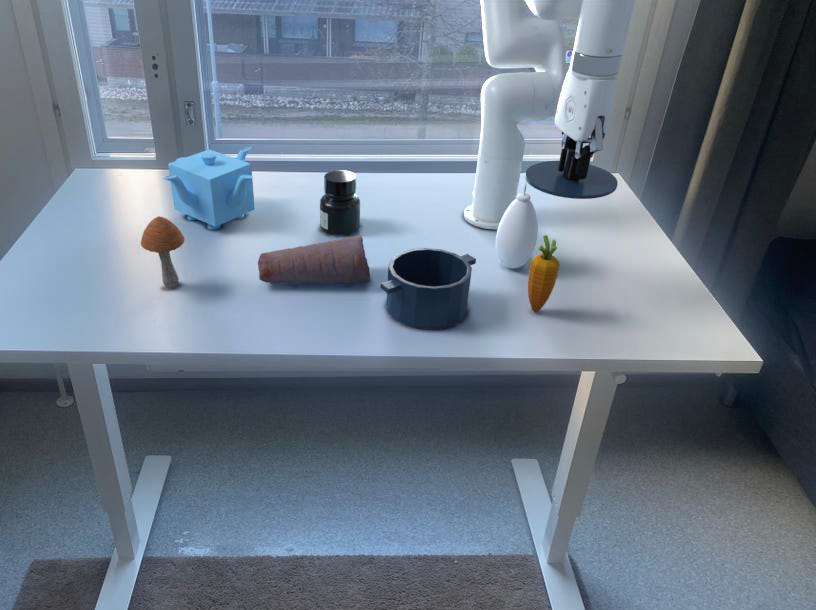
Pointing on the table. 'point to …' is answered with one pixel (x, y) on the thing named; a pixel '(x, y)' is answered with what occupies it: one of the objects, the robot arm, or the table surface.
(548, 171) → the saucepan lid
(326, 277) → the food
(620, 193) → the table surface
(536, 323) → the table surface
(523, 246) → the white egg-shaped bulb
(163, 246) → the mushroom
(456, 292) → the saucepan
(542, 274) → the carrot
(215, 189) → the teakettle
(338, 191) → the ink bottle
